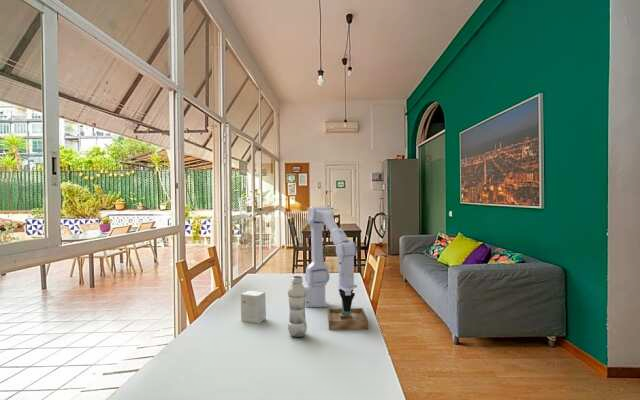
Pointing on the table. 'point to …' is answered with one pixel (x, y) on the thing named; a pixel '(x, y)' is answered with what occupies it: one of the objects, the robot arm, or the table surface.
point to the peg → (345, 312)
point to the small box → (253, 306)
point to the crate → (347, 319)
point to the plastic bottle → (297, 308)
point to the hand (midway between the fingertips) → (346, 309)
